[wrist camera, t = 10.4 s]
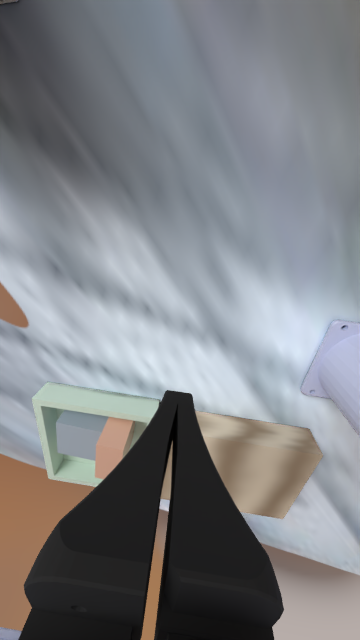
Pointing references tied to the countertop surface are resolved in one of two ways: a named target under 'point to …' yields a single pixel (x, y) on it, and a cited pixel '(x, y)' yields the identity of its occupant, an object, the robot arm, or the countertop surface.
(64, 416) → the slate tile
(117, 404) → the tray
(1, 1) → the coffee box
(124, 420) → the terracotta tile
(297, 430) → the birch board
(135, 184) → the countertop surface
